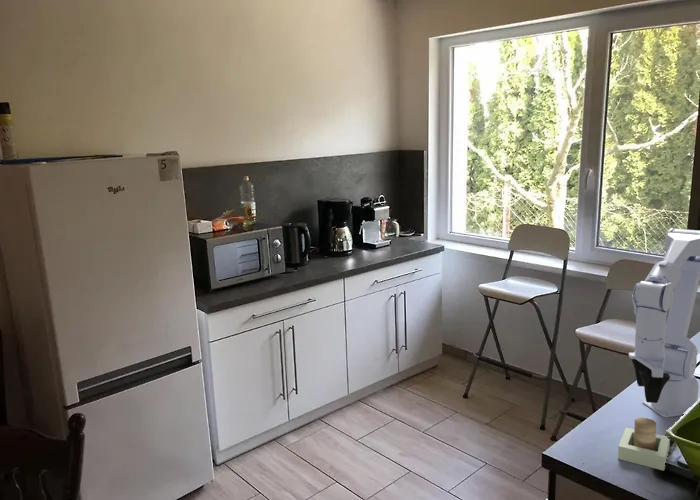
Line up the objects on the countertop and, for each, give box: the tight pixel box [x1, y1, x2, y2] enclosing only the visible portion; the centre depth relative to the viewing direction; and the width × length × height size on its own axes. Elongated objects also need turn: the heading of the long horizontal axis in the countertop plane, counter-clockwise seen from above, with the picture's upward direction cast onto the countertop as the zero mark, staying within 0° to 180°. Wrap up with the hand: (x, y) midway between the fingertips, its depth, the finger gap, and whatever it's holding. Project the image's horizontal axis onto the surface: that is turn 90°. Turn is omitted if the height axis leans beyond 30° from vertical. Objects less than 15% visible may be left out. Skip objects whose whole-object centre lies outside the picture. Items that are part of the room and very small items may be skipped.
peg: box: [633, 417, 657, 451], centre depth 119 cm, size 4×4×7 cm
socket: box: [617, 427, 671, 472], centre depth 120 cm, size 8×8×3 cm
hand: (647, 393), depth 126 cm, fingers open, 7 cm apart
